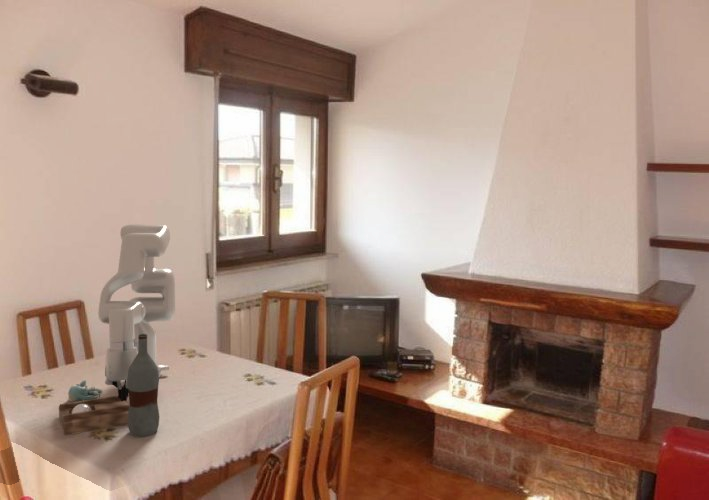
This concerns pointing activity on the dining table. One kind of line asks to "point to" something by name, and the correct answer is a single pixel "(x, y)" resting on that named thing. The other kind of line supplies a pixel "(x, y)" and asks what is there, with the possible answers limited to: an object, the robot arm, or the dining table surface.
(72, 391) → the stuffed animal
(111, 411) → the wooden box
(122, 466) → the dining table surface
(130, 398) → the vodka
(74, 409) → the steel ball
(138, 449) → the dining table surface
